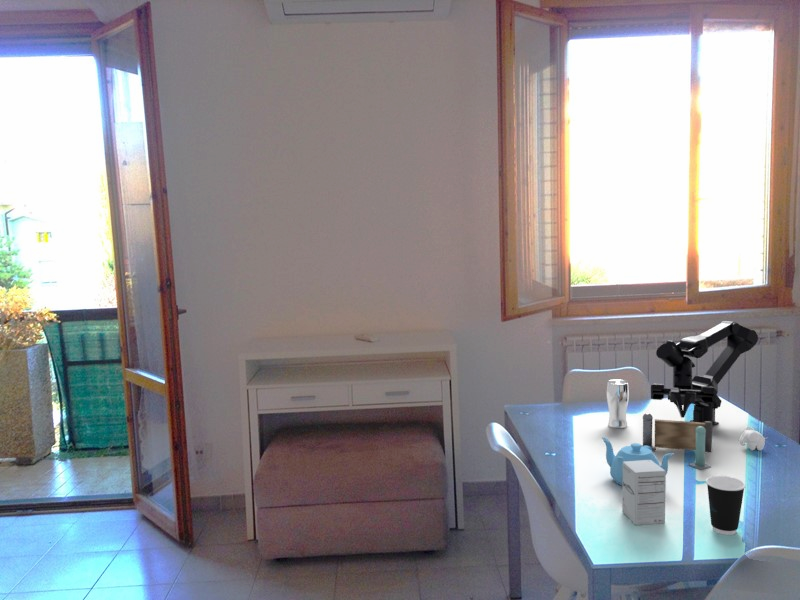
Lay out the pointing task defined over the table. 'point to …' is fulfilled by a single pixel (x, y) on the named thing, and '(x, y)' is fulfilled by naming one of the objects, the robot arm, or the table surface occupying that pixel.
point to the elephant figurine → (752, 439)
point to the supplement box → (643, 492)
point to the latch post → (700, 449)
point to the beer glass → (617, 403)
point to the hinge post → (647, 431)
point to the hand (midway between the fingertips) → (682, 417)
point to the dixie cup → (725, 503)
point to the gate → (681, 434)
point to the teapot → (630, 458)
